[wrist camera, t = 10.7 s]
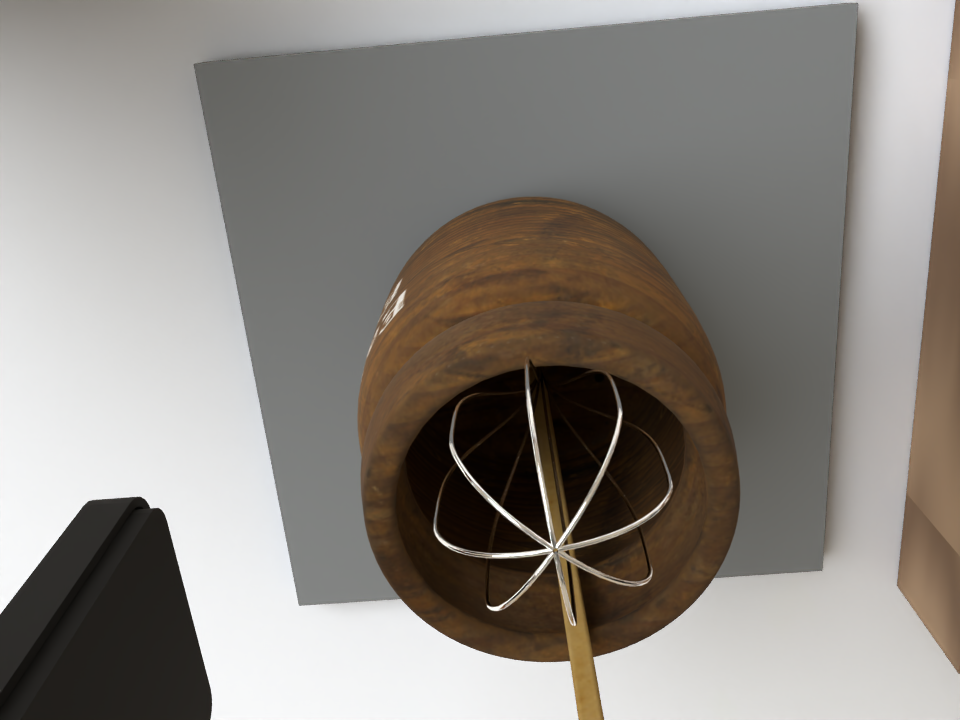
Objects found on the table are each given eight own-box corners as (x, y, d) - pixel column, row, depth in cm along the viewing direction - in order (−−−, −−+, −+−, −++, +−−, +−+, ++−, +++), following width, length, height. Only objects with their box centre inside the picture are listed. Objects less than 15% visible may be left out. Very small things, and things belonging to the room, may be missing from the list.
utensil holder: (651, 154, 17) (963, 446, 6) (694, 446, 19) (978, 1057, 8) (350, 220, 18) (108, 601, 6) (426, 496, 20) (346, 1135, 9)
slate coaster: (203, 62, 17) (193, 63, 16) (846, 3, 17) (858, 2, 16) (304, 589, 21) (298, 605, 21) (813, 555, 21) (822, 570, 20)
